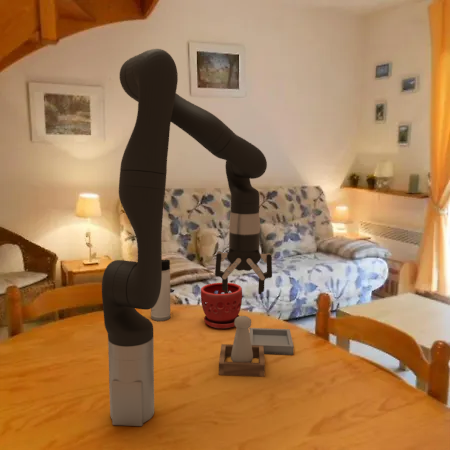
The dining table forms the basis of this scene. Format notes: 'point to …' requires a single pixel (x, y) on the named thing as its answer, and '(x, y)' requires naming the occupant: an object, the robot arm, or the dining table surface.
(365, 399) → the dining table surface
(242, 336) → the salt shaker
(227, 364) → the rectangular frame
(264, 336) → the tray
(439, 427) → the dining table surface
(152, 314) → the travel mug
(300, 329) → the dining table surface
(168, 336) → the dining table surface
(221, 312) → the plant pot
